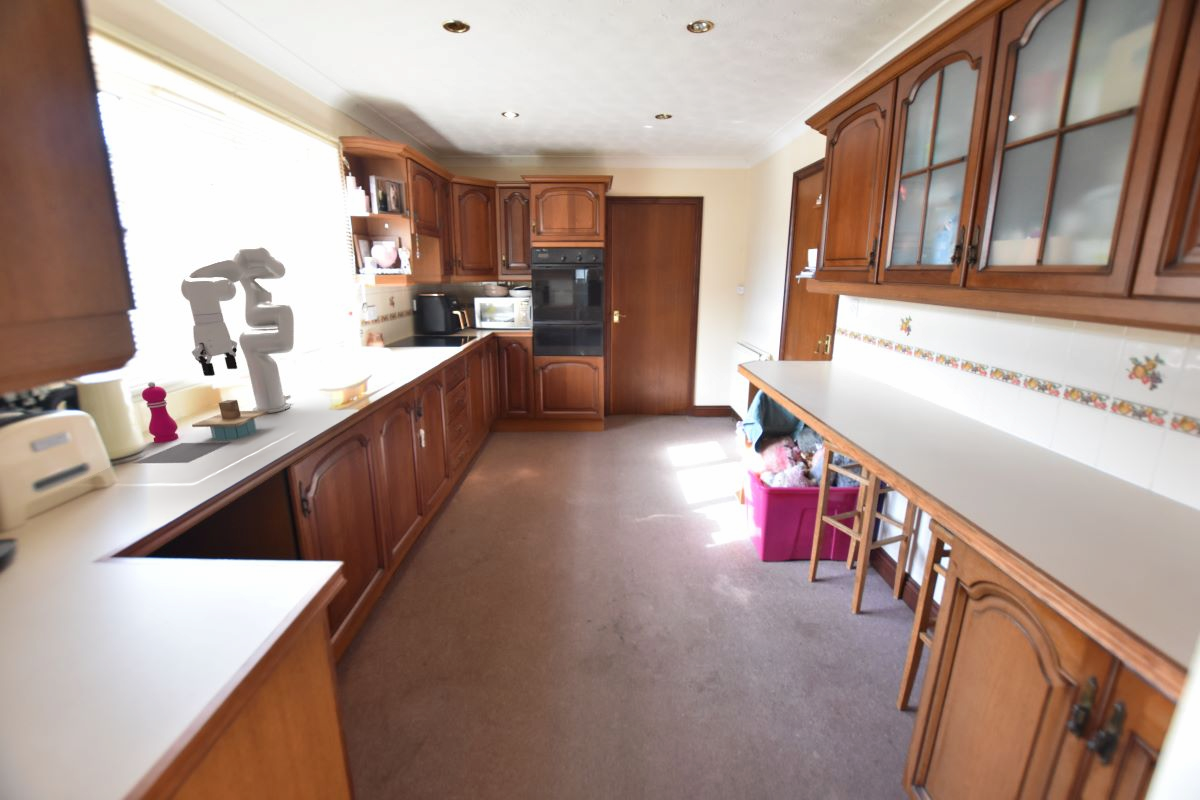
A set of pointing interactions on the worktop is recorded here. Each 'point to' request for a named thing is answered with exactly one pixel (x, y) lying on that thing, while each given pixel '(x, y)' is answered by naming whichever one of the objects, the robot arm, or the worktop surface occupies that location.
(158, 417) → the pepper mill
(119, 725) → the worktop surface
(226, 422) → the lid
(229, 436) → the bowl
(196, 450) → the mat
